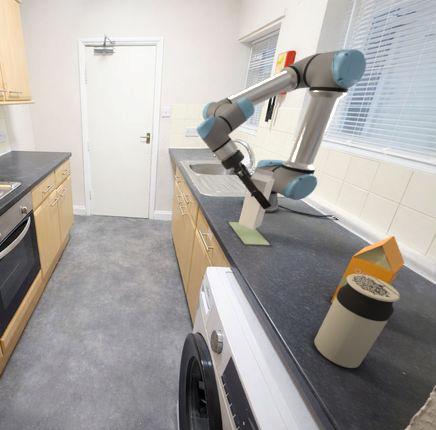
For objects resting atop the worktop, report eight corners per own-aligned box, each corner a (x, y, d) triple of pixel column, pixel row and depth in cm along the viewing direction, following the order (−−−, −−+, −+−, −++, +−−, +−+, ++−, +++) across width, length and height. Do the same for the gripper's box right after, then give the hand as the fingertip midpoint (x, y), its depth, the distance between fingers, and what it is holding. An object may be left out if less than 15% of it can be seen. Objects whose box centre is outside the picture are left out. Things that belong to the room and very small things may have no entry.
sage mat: (249, 223, 113) (249, 222, 113) (270, 245, 97) (270, 244, 96) (228, 222, 113) (228, 221, 113) (245, 244, 97) (245, 243, 97)
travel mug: (325, 365, 54) (363, 297, 46) (307, 333, 61) (336, 270, 53) (369, 372, 53) (415, 304, 45) (345, 339, 60) (381, 275, 52)
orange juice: (378, 307, 69) (417, 242, 61) (366, 321, 65) (406, 252, 56) (342, 290, 75) (373, 228, 67) (329, 301, 71) (360, 237, 62)
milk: (253, 230, 100) (269, 173, 90) (238, 223, 104) (252, 169, 94) (260, 225, 103) (277, 170, 93) (246, 219, 107) (260, 166, 98)
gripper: (220, 156, 107) (253, 199, 109) (219, 168, 89) (259, 219, 91) (237, 144, 103) (271, 188, 105) (240, 154, 85) (281, 208, 87)
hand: (265, 203), depth 98 cm, fingers closed on milk, 8 cm apart
